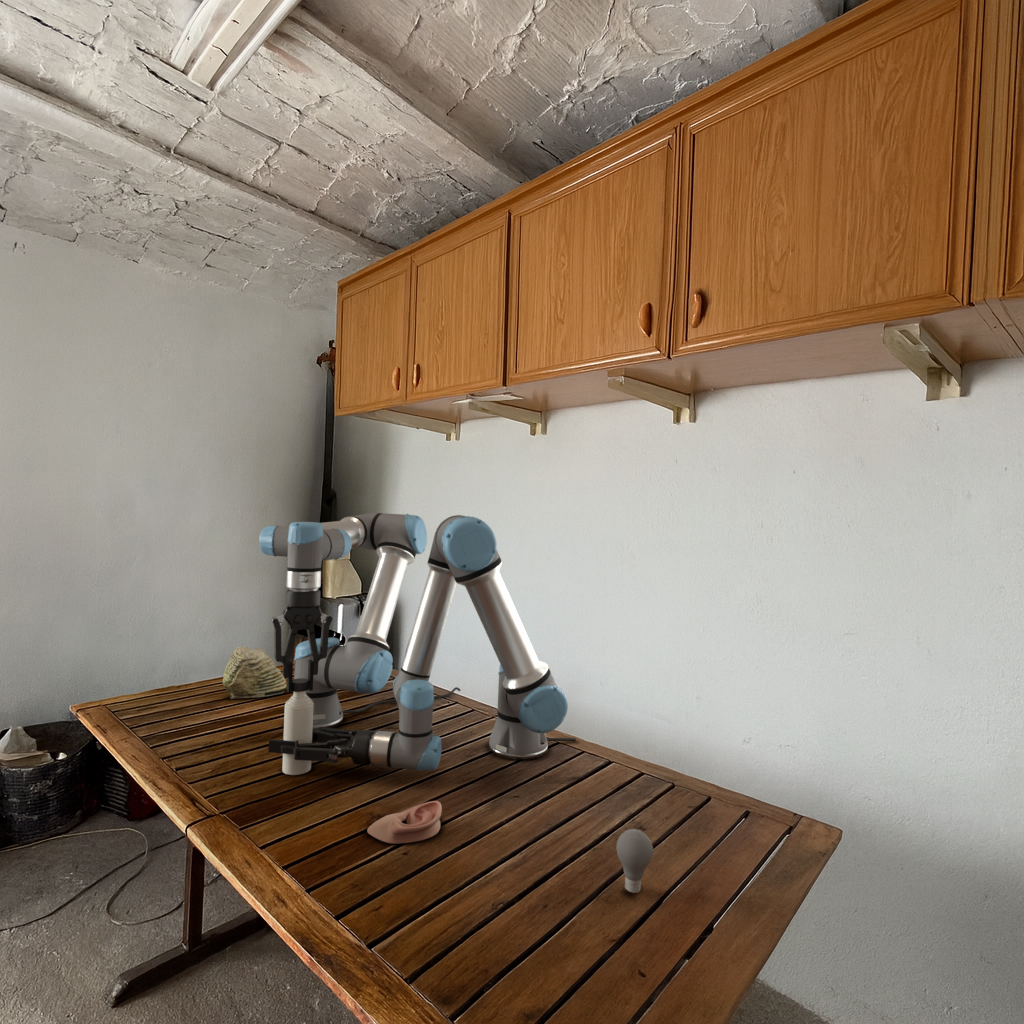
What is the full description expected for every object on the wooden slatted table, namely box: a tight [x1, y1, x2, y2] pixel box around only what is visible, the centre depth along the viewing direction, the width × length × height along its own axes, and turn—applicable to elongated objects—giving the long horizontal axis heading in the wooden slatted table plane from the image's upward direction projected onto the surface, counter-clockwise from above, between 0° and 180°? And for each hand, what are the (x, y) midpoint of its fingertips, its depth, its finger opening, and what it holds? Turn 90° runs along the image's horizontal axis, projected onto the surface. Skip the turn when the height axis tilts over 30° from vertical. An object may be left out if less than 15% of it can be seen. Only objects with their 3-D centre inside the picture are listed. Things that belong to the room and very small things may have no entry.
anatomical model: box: [366, 800, 443, 845], centre depth 122 cm, size 13×4×12 cm
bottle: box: [281, 691, 314, 776], centre depth 146 cm, size 6×6×20 cm
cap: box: [292, 678, 309, 692], centre depth 146 cm, size 4×4×2 cm
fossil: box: [222, 646, 287, 699], centre depth 198 cm, size 9×18×15 cm, turn 132°
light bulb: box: [615, 828, 654, 894], centre depth 106 cm, size 6×6×10 cm
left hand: (299, 689), depth 146 cm, fingers closed on cap, 4 cm apart
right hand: (276, 739), depth 147 cm, fingers closed on bottle, 6 cm apart
